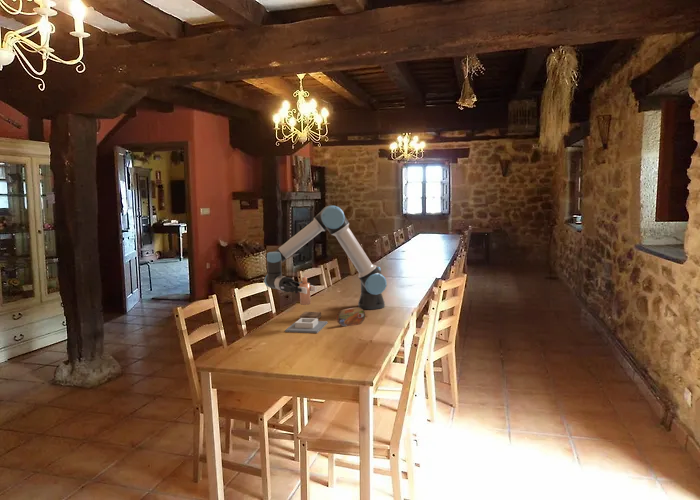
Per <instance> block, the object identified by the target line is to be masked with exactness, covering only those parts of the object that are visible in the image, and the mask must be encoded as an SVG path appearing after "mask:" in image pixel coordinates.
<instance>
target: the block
mask: <svg viewBox="0 0 700 500" xmlns="http://www.w3.org/2000/svg"><path fill="white" fill-rule="evenodd" d="M321 317H322V312H321V311H304V312H302V313H300V315H299V319H300V318H316V319H318V320H319V319H320V318H321Z"/></svg>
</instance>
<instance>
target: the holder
mask: <svg viewBox="0 0 700 500" xmlns="http://www.w3.org/2000/svg"><path fill="white" fill-rule="evenodd" d="M327 324H328V321H327V320H324V321H323V320H319V319H316V318H300V317H299V319H298V320H296V321H295V322H293V323H292V324H290V325H289V326H288V327H287V328H286V329H285V331H284V332H285V333H298V334H299V333H300V334H301V333H303V334H318V333H319V332H321V330H322V329H324V327H325V326H326V325H327Z"/></svg>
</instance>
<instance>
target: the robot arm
mask: <svg viewBox="0 0 700 500" xmlns="http://www.w3.org/2000/svg"><path fill="white" fill-rule="evenodd" d="M326 231H328V232H329V235H331V236H334V237H335V238H336V240H337V241H338V243H339V245H340V246H341V248H342V249H343V252H345V254H346V255H347V257H348V258H349V260H350V261H351V262H352V265H353V266H354V268H355V269H356V271H357V272H358V276H357V277H358V279H359V281H360V294H359V295H360V297H359V300H358V303H357V304H358V305H357V306H358V308H361V309H363V310H379V309H383V308H385V307H386V306H385V305H386V304H385V300H384V299H385V298H384V297H383V295H382V293H383V292H384V291H386V288H387V286H388V284H387V278H386V277H385V276H384V275H383V273H382V269H381V267H380V266H377V264H373V263H372V262H371V260H370V258H369V257H368V255H367V253H366V252H365V250H364V249H363V247H362V246H361V244H360V243H359V241H358V240H357V238H356V236H355V235H354V233H353V232H352V230H351V229H350V222H349V220H348V219H347V217H346V215H345V212H344V211H343V209H341V207H339V206H338V205H337V206H336V205H332V204H331V205H330V204H329V205H327V206H325V207H323V208H322V209H321V211H320V212H318V214H317V215H315V216H314V217H313V220H312V221H310V223H308V224H307V225H306V226H304V228H302V229H301V230H299V231H298V232H297V233H296V234H295V235H293V236H291V238H289V239H288V240H287V241H286V242H285V243H283V244H282V245H280V246H279V247H278V248H277V249H276V250H274V251H269V252H267V253H266V264H267V266H266V267H267V268H266V269H267V272H266V273H267V274H266V275H265V276H264V279H263V283H264V285H265V286H266V287H268V288H270V289H275V290H278V291H281V292H286V293H294V292H295V294H298V293H299V294H300V293H304V294H307V288H304V287H300V283H302V281H295V280H294V279H293V278H292V277H289V276H285V275H283V272H282V264H283V263H284V262H285V261H286V260H287V259H288V258H291V256H293V255H294V254H295V253H296V252H298V250H301V248H302V247H303V246H305V245H306V244H307V243H309V242H310V241H311V240H313V239H314V238H315V237H317V236H318V235H319V234H320V233H321V232H326ZM310 292H312V293H313V292H314V293H317V286H316V285H313V283H310Z"/></svg>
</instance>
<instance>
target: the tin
mask: <svg viewBox="0 0 700 500" xmlns="http://www.w3.org/2000/svg"><path fill="white" fill-rule="evenodd" d="M365 319H366V312H365V309H361V308H359V307H350V308H344V309H341V310H339V311H338V313H337V315H336V321H337V324H338V325H340V326H342V327H345V328H346V327H349V326H350V327H351V326H354V325H355V326H357V325H361V324H362V323H363V322H364V321H365Z"/></svg>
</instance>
